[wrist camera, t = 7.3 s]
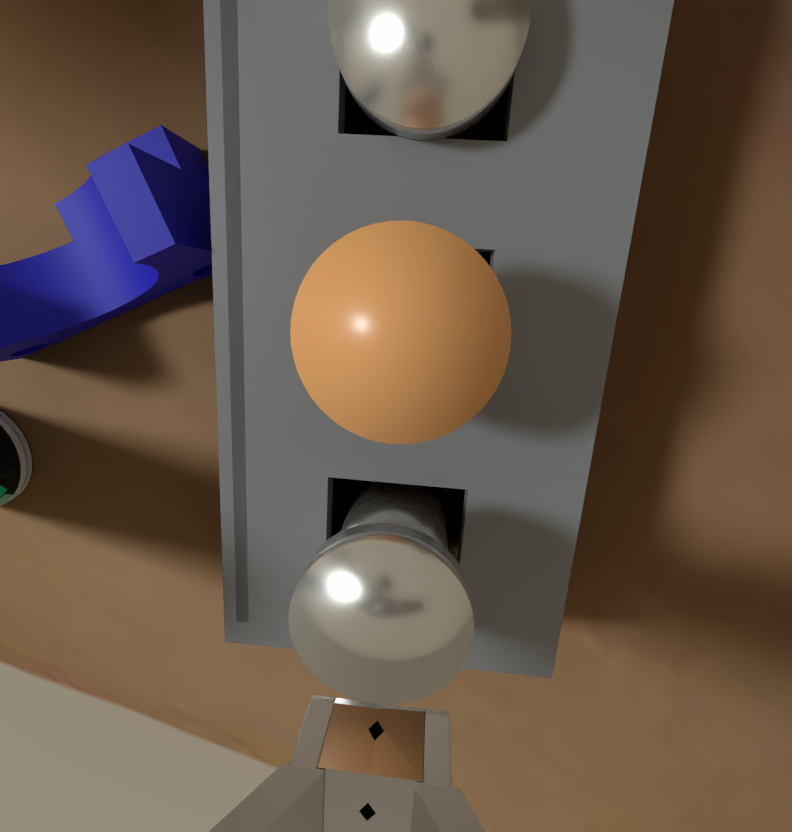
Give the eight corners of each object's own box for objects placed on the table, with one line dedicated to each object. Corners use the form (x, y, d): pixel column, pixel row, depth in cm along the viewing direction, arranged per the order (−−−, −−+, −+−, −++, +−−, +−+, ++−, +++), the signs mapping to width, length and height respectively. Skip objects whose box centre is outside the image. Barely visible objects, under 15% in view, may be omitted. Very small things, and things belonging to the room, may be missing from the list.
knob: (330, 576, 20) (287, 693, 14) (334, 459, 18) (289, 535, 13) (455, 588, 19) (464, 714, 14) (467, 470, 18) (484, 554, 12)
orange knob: (336, 388, 18) (289, 435, 12) (341, 241, 16) (290, 213, 11) (476, 399, 17) (497, 453, 12) (492, 251, 16) (525, 227, 10)
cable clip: (202, 150, 19) (102, 89, 14) (249, 257, 20) (175, 243, 14) (-28, 264, 21) (-201, 253, 15) (25, 357, 22) (-119, 380, 16)
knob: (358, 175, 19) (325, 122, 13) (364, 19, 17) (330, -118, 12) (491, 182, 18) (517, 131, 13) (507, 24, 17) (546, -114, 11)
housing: (267, 571, 24) (225, 641, 19) (262, -57, 17) (196, -194, 12) (527, 597, 23) (551, 677, 18) (627, -49, 16) (708, -190, 12)
